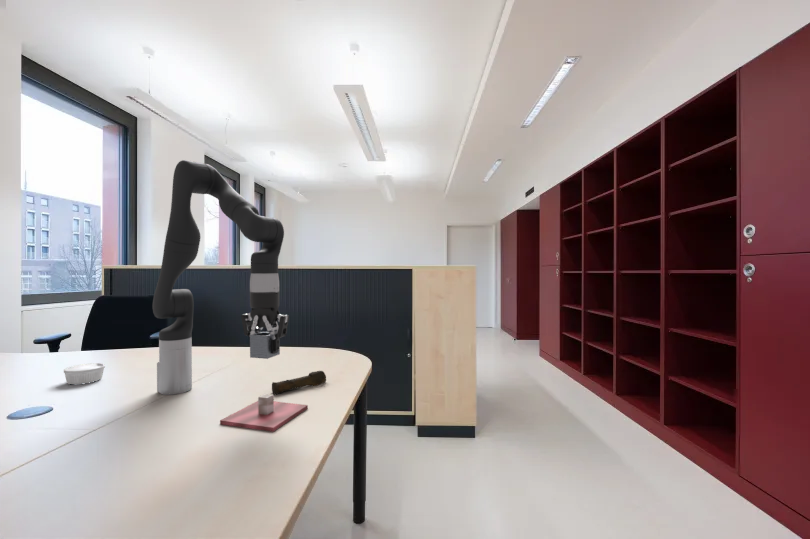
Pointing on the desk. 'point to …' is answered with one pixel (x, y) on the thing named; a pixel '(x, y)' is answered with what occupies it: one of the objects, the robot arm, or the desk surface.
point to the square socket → (261, 345)
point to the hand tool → (299, 382)
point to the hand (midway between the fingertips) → (265, 352)
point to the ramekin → (84, 373)
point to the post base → (264, 414)
